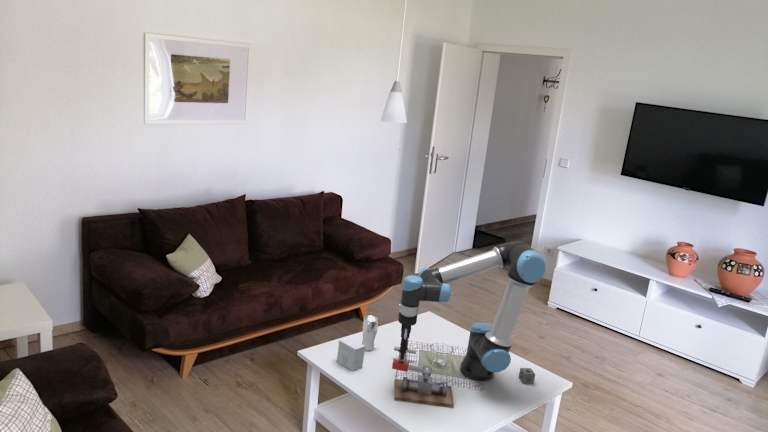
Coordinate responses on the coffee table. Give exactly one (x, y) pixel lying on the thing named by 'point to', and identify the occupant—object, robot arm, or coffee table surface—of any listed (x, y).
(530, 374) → the dice cube
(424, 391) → the valve body
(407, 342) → the pipe connector
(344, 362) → the skincare box
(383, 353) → the coffee table surface
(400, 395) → the walnut board
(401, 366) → the valve handle
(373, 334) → the beer glass
